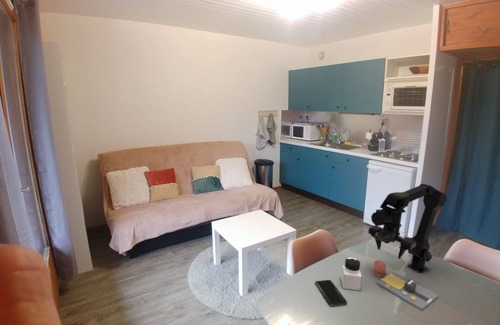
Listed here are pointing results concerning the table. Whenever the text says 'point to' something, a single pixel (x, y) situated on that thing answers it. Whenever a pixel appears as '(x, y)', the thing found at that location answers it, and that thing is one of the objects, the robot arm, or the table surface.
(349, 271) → the medicine bottle
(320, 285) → the phone
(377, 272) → the cap
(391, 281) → the panel
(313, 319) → the table surface
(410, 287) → the breaker
